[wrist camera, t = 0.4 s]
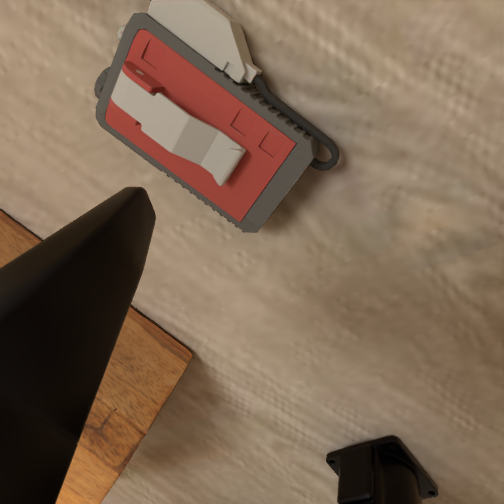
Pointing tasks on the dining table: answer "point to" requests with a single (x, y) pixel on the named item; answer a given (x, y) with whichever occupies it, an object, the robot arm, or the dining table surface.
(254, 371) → the dining table surface
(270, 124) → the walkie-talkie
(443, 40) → the dining table surface
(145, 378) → the wooden box
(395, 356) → the dining table surface
